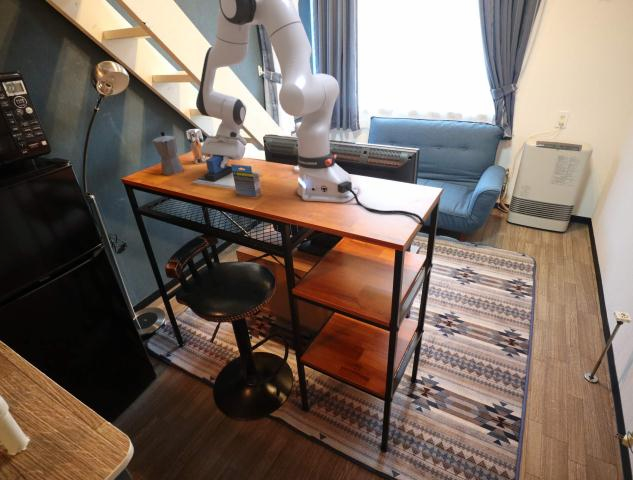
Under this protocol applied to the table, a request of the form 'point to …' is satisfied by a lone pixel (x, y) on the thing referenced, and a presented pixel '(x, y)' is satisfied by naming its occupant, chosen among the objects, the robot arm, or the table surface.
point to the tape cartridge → (246, 181)
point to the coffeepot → (168, 154)
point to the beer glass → (196, 145)
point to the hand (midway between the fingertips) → (216, 166)
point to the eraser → (216, 169)
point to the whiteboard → (221, 181)
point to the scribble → (201, 178)
